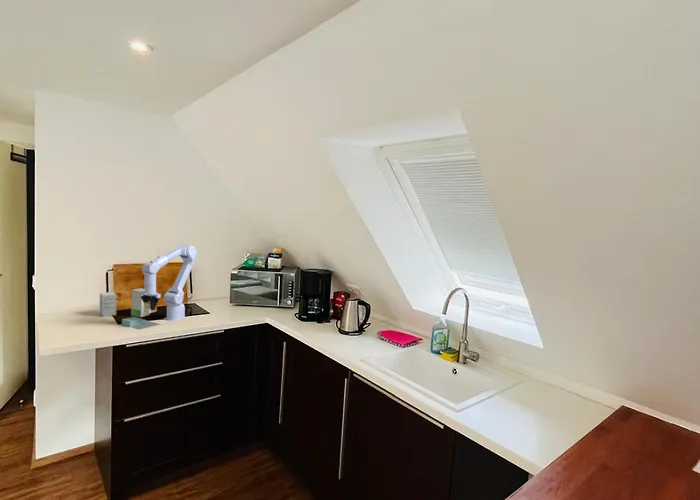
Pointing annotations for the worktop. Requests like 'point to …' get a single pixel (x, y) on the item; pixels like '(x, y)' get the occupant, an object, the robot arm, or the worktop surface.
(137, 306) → the skincare box
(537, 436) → the worktop surface
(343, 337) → the worktop surface
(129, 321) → the plinth
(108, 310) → the supplement box
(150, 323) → the mat
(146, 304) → the maple block
